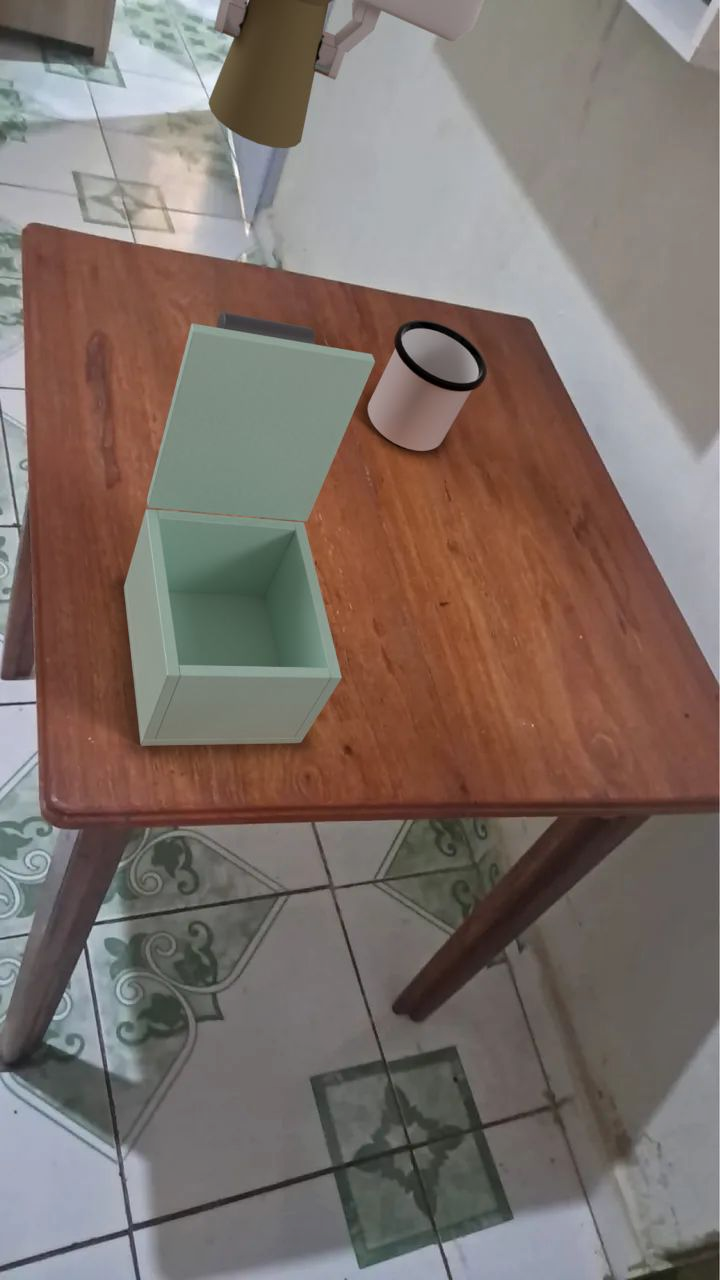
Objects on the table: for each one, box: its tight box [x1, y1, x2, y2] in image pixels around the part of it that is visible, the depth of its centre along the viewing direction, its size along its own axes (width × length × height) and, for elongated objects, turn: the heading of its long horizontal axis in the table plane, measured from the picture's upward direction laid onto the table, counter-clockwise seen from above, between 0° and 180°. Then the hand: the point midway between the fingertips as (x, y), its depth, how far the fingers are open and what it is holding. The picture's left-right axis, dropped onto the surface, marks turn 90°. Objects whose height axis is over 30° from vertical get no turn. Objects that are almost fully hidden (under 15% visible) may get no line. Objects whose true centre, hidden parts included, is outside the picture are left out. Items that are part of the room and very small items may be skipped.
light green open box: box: [123, 508, 343, 747], centre depth 67 cm, size 14×12×9 cm
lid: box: [146, 311, 376, 522], centre depth 64 cm, size 14×12×5 cm
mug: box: [367, 319, 488, 452], centre depth 94 cm, size 12×10×9 cm
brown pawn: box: [208, 0, 333, 149], centre depth 55 cm, size 6×6×11 cm
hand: (275, 51), depth 56 cm, fingers closed on brown pawn, 4 cm apart
